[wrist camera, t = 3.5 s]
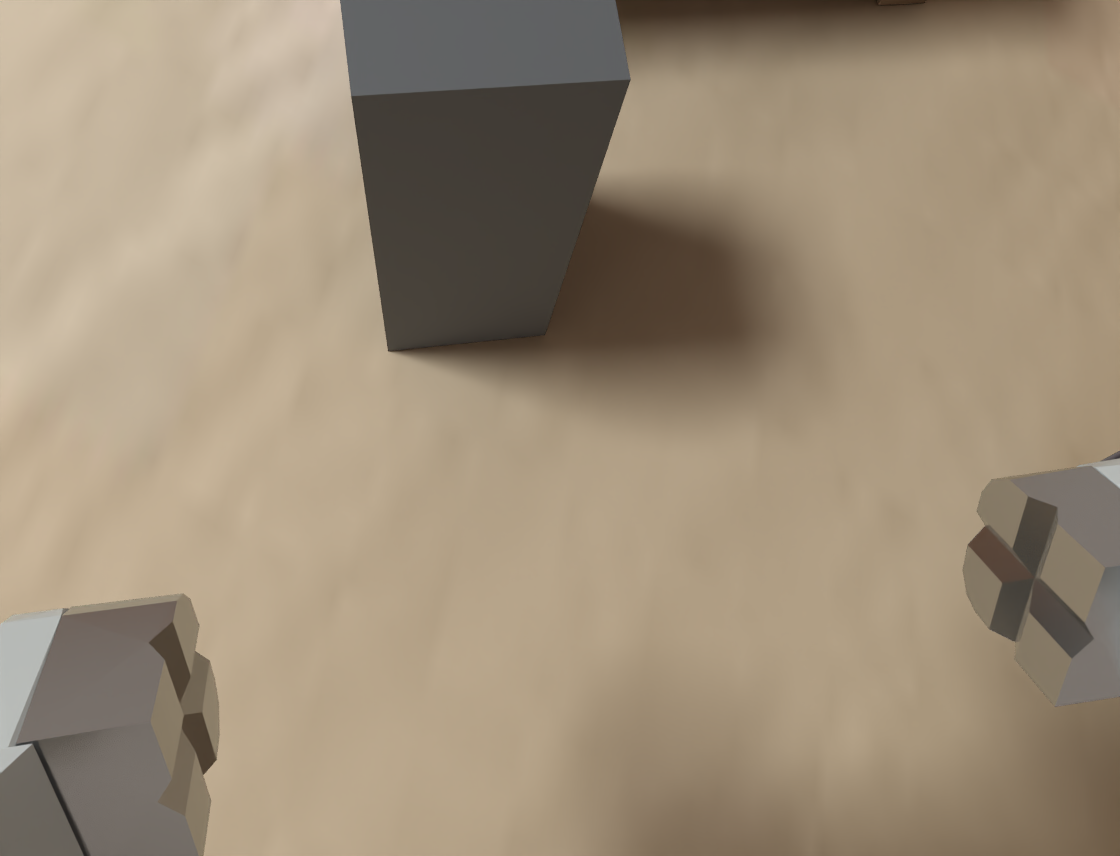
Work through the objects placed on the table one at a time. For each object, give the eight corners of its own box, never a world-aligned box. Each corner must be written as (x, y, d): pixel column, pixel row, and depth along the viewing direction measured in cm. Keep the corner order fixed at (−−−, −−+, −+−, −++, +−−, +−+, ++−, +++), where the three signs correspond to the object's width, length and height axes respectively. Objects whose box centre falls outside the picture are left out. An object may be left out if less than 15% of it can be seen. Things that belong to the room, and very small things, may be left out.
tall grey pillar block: (519, 173, 25) (581, -180, 15) (544, 334, 24) (630, 79, 14) (368, 184, 25) (319, -177, 14) (388, 351, 24) (351, 96, 13)
